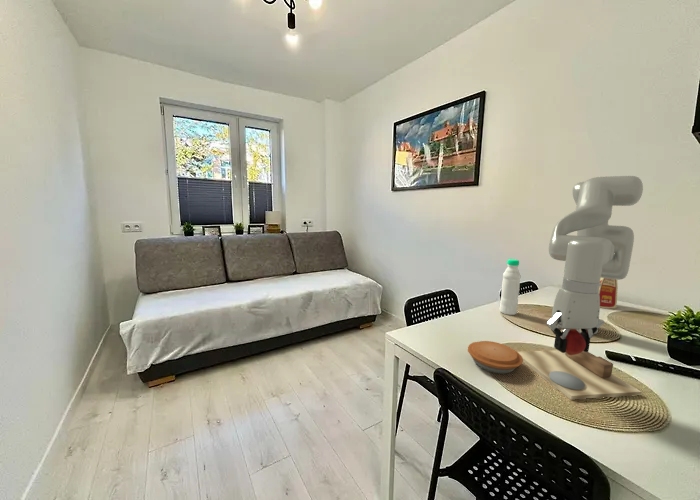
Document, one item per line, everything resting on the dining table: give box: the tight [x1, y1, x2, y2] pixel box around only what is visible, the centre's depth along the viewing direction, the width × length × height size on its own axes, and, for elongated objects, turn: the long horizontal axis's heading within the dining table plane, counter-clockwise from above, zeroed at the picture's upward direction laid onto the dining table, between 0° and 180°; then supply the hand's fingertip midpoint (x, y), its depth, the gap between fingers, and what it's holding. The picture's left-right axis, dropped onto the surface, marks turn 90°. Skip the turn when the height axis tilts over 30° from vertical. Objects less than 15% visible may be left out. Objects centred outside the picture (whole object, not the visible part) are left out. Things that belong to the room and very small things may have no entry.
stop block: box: [597, 356, 614, 376], centre depth 84 cm, size 2×4×4 cm, turn 5°
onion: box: [565, 329, 586, 355], centre depth 78 cm, size 6×6×8 cm
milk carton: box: [599, 278, 619, 310], centre depth 142 cm, size 9×9×20 cm
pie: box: [467, 340, 524, 375], centre depth 90 cm, size 16×16×5 cm
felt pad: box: [549, 371, 585, 390], centre depth 80 cm, size 8×8×1 cm
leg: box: [565, 351, 613, 378], centre depth 87 cm, size 13×2×4 cm, turn 7°
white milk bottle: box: [499, 258, 522, 316], centre depth 131 cm, size 7×7×25 cm
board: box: [517, 349, 642, 401], centre depth 85 cm, size 20×22×1 cm
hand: (570, 349), depth 78 cm, fingers closed on onion, 5 cm apart
